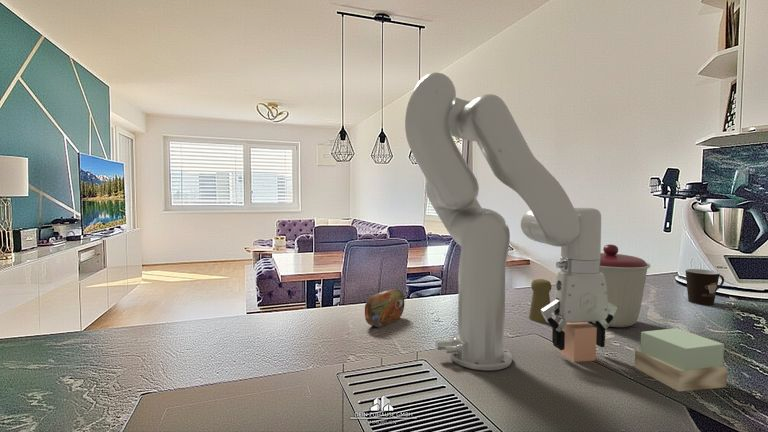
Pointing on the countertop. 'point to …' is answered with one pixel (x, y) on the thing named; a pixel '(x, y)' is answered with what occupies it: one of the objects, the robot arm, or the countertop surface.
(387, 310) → the tin
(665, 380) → the bottom block
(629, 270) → the canister
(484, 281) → the robot arm
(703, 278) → the coffee mug
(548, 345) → the countertop surface
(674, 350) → the top block
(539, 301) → the cork
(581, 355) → the terracotta block
